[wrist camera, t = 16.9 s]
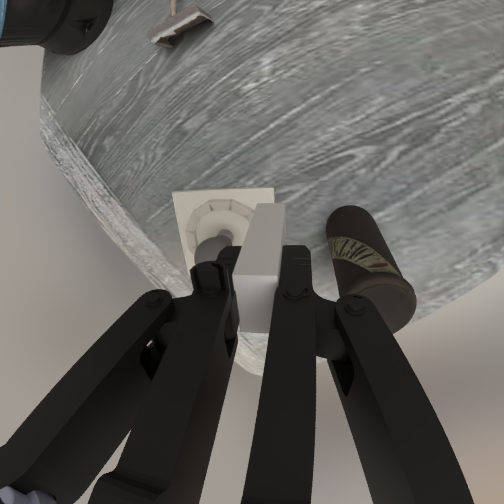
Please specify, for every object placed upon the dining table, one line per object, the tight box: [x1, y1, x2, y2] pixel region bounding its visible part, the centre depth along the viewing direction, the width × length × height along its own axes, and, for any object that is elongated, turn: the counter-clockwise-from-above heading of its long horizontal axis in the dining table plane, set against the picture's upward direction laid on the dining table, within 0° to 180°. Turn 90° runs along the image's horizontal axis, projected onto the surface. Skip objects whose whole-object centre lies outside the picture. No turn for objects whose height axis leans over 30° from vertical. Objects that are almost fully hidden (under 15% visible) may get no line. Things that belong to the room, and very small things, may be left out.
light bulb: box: [194, 230, 234, 265], centre depth 41 cm, size 6×6×10 cm
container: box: [326, 206, 416, 334], centre depth 34 cm, size 9×9×20 cm
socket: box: [172, 186, 275, 276], centre depth 46 cm, size 16×16×2 cm
